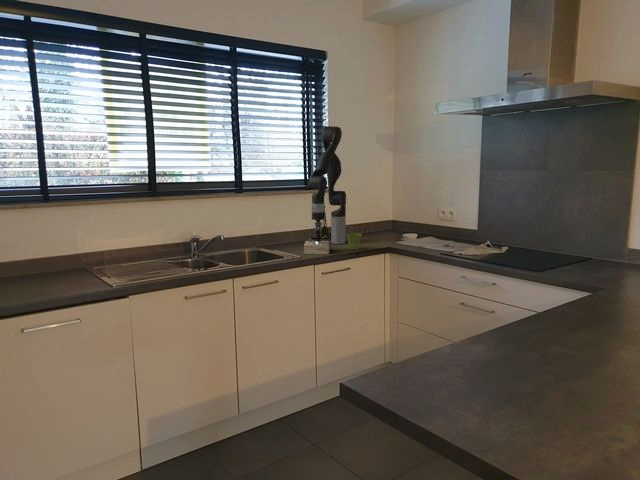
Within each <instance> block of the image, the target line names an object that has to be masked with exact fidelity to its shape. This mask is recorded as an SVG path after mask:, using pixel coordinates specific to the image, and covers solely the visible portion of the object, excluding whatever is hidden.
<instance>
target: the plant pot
mask: <svg viewBox="0 0 640 480" xmlns="http://www.w3.org/2000/svg"><path fill="white" fill-rule="evenodd" d="M362 236H363V234H362V233H346V238H347V241H348V249H349V250H351V249H353V250H355V249H357V250H360V249H361V248H360V247H361V241H362V239H361V238H362Z"/></svg>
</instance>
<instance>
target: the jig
mask: <svg viewBox="0 0 640 480" xmlns="http://www.w3.org/2000/svg"><path fill="white" fill-rule="evenodd" d="M315 241H316V240H313V238H312V237H308V240H305V242H304V245H303V255H330V240H321V241H322V244H315Z"/></svg>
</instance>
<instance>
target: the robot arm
mask: <svg viewBox="0 0 640 480" xmlns="http://www.w3.org/2000/svg"><path fill="white" fill-rule="evenodd" d="M342 135H343V132H342V128H341V127H339V126H332V125H331V126H330V125H327V126H323V127H322V129H321V140H322V146H323V151H324V152H323V153H321V154H320V156H319V157H318V160H317V163H316V165H315V166H316V167H315V169H314V170H313V171H312V173H311V175H310V176H309V178H308V185H309V187H310V188H311V189H317V192H314V193H312V195H311V220H313V221H315V223H314V226H315V227H314V228H315V234H316V241H322V240H321V233H322V225H323V222H321V221H323V220H325V219H326V218H325V217H326V206H325V196H326V195H325V194H326V189H328V190H327V192H328V193H327V194H328V203H329V205H330V206H339V208H338V209H336V210H333V211H331V212H330V228H331V229H330V231H331V232H330V233H331V236H330V237H331V238H330V239H331V242H330V243H331V244H335V245H336V244H337V245H338V244H339V245H341V244H346V241H347V240H346V238H347V236H346V235H347V231H346V230H347V229H346V227H347V226H346V221H347V218H346V217H347V216H346V212H347V211H346V208H347V207H346V205H347V193H346V191H345V190H335V185H336V183H337V182H338V180H339V179H340V176H341V174H342V164H341V163H342V162H341V160H340V158H339V156H338V155H337V154H336V151H337V148H338V146H339V145H340V142H341V138H342ZM324 175H326V177H325V176H324ZM327 186H328V187H327Z"/></svg>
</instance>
